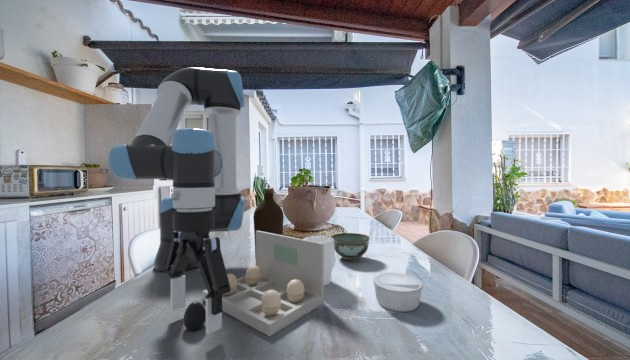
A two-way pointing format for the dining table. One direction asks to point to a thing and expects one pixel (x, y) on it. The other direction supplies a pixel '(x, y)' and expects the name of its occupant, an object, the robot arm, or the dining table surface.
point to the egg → (194, 316)
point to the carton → (277, 283)
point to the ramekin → (398, 291)
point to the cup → (325, 254)
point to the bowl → (350, 245)
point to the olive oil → (268, 216)
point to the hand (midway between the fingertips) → (194, 318)
